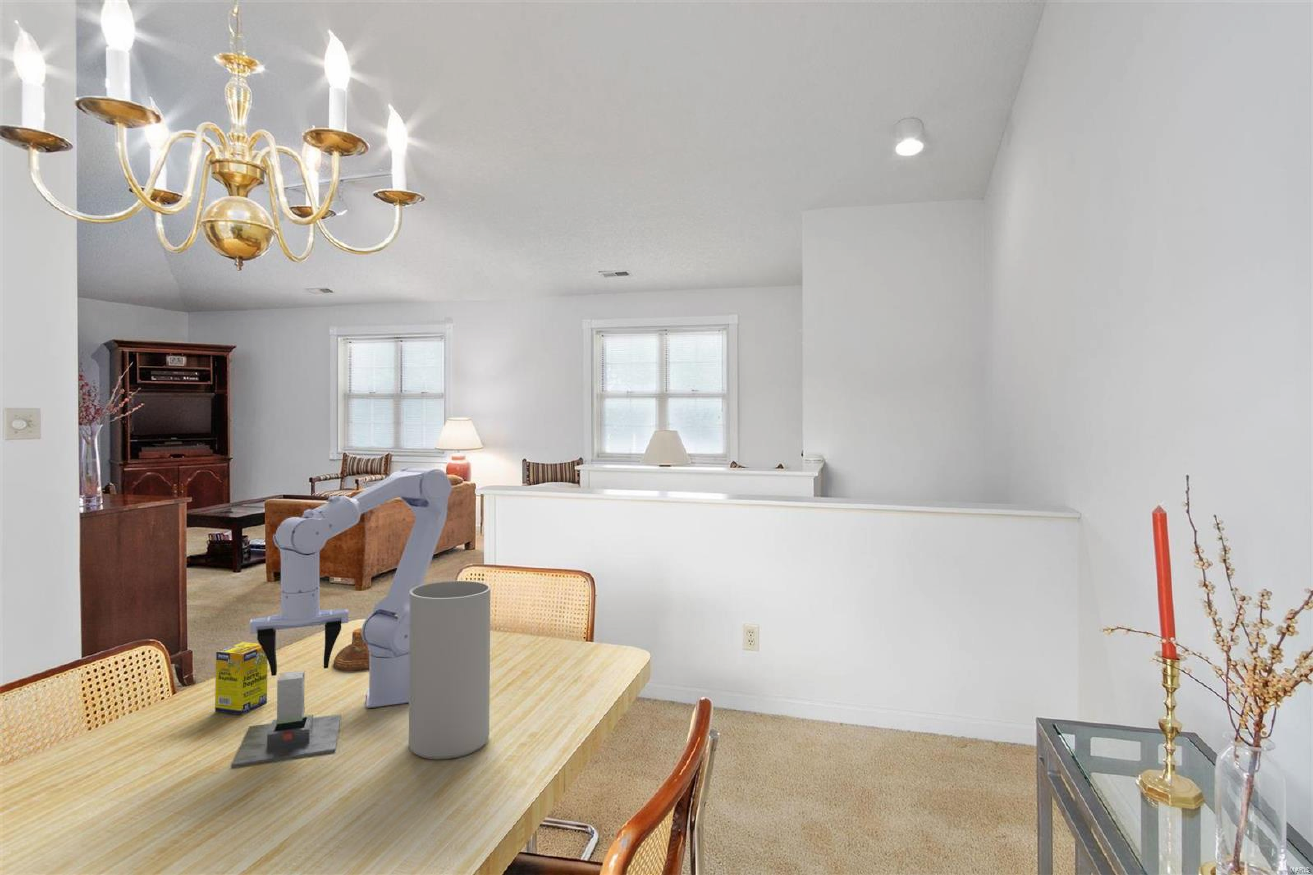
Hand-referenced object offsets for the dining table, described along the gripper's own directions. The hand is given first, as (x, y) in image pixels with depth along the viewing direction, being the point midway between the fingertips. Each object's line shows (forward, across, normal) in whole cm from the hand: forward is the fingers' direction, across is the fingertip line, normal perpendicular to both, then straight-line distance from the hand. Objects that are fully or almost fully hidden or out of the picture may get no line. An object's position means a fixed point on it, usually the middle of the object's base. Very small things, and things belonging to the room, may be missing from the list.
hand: (300, 670), depth 112 cm
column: (+7, +1, +3) cm, 8 cm away
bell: (+11, -12, -33) cm, 36 cm away
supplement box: (+10, +10, -16) cm, 21 cm away
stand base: (+10, +1, +3) cm, 11 cm away
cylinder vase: (+11, -22, +15) cm, 29 cm away
